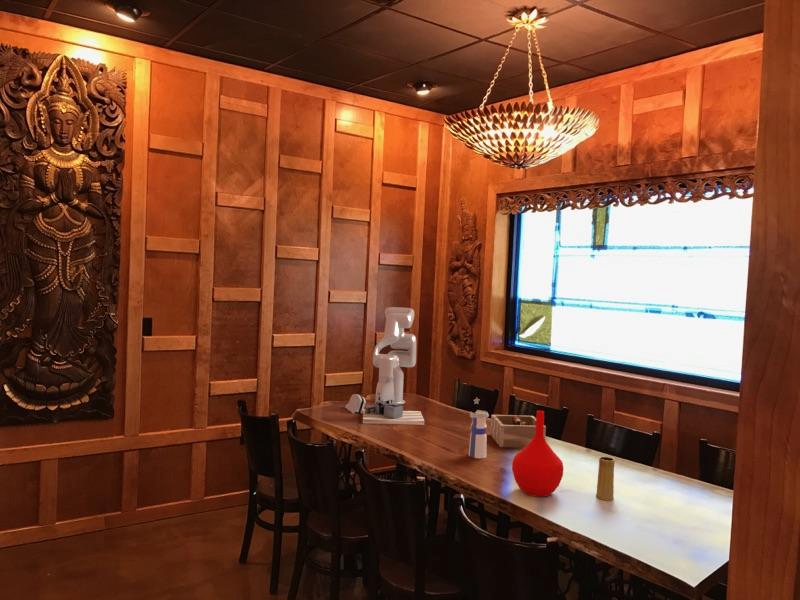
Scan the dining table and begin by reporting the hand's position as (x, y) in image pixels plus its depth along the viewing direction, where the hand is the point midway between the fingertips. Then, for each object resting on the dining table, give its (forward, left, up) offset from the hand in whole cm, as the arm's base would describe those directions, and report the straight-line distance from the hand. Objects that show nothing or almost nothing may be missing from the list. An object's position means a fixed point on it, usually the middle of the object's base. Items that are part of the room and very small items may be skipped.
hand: (384, 413), depth 331 cm
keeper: (-6, -7, -3) cm, 9 cm away
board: (0, +5, -3) cm, 5 cm away
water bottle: (+65, +39, -3) cm, 75 cm away
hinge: (-18, -16, -3) cm, 24 cm away
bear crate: (+39, +63, -3) cm, 74 cm away
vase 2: (+113, +77, -3) cm, 136 cm away
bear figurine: (+38, +65, -3) cm, 75 cm away
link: (0, 0, -1) cm, 1 cm away
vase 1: (+109, +53, -3) cm, 121 cm away
